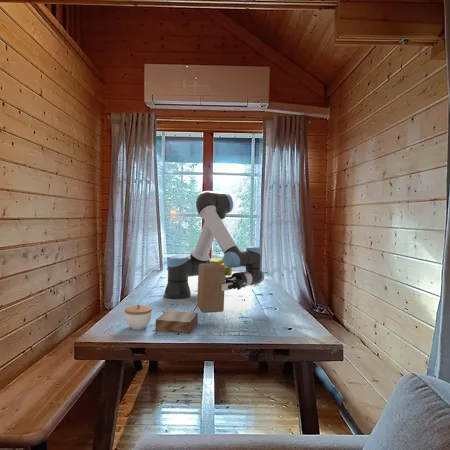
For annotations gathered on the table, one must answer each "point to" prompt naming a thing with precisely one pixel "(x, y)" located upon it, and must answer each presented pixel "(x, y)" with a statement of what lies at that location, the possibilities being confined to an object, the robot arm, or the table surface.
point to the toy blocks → (220, 261)
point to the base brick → (177, 322)
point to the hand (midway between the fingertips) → (210, 285)
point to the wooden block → (210, 287)
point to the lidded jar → (138, 316)
